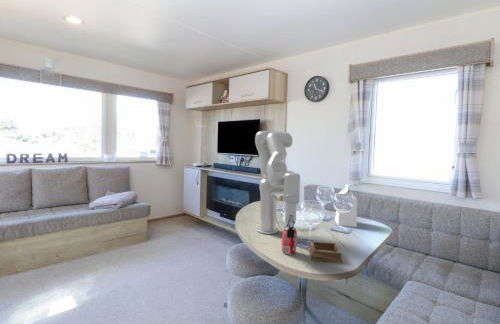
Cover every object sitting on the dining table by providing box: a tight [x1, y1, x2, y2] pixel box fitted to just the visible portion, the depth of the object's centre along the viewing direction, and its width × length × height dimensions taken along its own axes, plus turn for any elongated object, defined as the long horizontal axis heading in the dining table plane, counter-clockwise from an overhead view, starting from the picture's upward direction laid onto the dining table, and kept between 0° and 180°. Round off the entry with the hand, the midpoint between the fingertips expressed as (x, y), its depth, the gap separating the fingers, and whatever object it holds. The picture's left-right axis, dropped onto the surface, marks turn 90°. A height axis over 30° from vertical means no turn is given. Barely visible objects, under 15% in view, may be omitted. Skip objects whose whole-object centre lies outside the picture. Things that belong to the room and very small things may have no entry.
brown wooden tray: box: [308, 240, 344, 264], centre depth 124 cm, size 14×14×4 cm
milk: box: [334, 184, 358, 228], centre depth 173 cm, size 12×12×26 cm
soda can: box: [281, 225, 298, 255], centre depth 126 cm, size 7×7×12 cm
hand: (290, 234), depth 125 cm, fingers open, 9 cm apart
